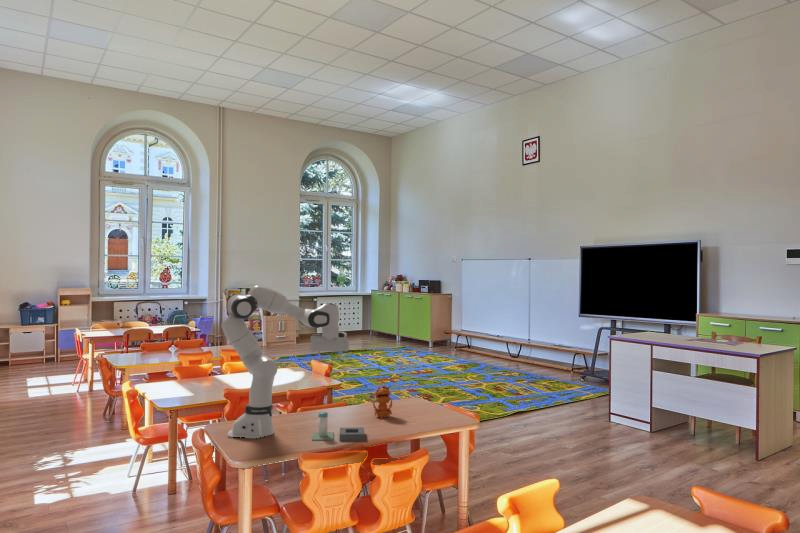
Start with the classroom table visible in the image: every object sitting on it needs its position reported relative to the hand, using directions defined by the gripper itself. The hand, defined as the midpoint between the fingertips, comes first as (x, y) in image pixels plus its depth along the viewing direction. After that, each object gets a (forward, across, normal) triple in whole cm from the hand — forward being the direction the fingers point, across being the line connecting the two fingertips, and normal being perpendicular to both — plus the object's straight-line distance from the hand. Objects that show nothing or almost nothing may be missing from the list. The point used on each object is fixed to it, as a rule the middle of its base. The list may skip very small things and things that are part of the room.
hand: (329, 359), depth 290 cm
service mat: (+35, -2, -23) cm, 42 cm away
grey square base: (+35, +12, -24) cm, 44 cm away
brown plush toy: (+35, +30, +18) cm, 50 cm away
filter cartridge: (+34, -2, -23) cm, 41 cm away
